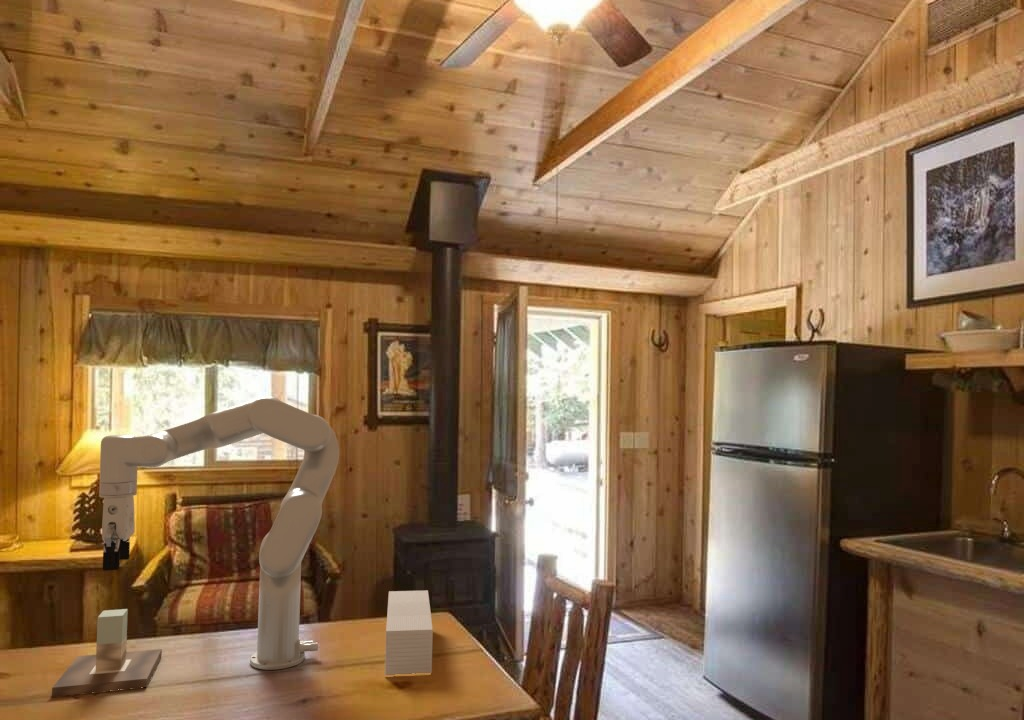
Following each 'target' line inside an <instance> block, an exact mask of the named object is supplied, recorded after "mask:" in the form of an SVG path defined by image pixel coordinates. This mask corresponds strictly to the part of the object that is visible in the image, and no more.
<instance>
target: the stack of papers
mask: <svg viewBox="0 0 1024 720" xmlns="http://www.w3.org/2000/svg"><path fill="white" fill-rule="evenodd" d="M386 613H387V615H386V627H385V657H384V658H385V659H384V660H385V661H384V662H385V666H384V676H385V675H395V674H412V673H415V674H416V673H433V638H434V637H433V636H434V633H433V631H434V630H433V623H432V621H433V620H432V612H431V605H430V595H429V590H427V589H426V590H397V591H396V590H395V591H394V590H392V591H391V590H389V591H388V597H387V612H386Z"/></svg>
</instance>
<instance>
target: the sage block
mask: <svg viewBox="0 0 1024 720" xmlns="http://www.w3.org/2000/svg"><path fill="white" fill-rule="evenodd" d="M128 612H129V609H128V608H121V609H120V608H119V609H108V610H106V609H105V610H102V612H101V613H100V614H99V615H98V617H97V626H96V628H97V629H96V646H97V645H99V644H111V643H122V641H123V640H124V638H125V637H126V635H127V634H128V632H127V631H128V616H129V615H128V614H129V613H128ZM127 636H128V635H127Z"/></svg>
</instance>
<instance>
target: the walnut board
mask: <svg viewBox="0 0 1024 720" xmlns="http://www.w3.org/2000/svg"><path fill="white" fill-rule="evenodd" d="M162 650H163V649H162V648H161V649H148V650H138V651H135V650H134V651H126V662H125V664H124V665H123V667H122V668H121V670H112V671H101V672H95V670H96V654H90V655H89V654H88V655H77V656H76V657H75V658H74V659H73V661H72V662H71V663H70V664H69V666H68V667H67V668H66V670H64V672H63V673H62V674H61V676H60V677H59V679H57V681H56V682H55V683H54V685H53V686H52V688H51V698H58V697H57V696H60V697H66V696H65V695H70V696H74V695H73V694H80V695H83V694H82V693H90V694H93V693H92V692H100V693H104V692H103V691H110V690H118V689H119V690H120V689H130V688H141V687H147V688H148V686H149V684H150V682H149V681H151V680H150V679H152V678H151V677H153V676H152V675H154V674H155V672H154V671H156V669H157V667H158V665H159V663H160V662H161V659H162V653H163V651H162ZM153 673H154V674H153ZM148 683H149V684H148ZM147 685H148V686H147ZM141 689H142V688H141ZM110 692H111V691H110Z"/></svg>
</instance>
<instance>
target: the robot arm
mask: <svg viewBox="0 0 1024 720" xmlns="http://www.w3.org/2000/svg"><path fill="white" fill-rule="evenodd" d="M334 431H335V430H333V428H332V427H331V425H330V424H329V422H328V421H327V420H326V419H325V418H324V417H322V416H320V415H318V414H312V413H309V412H307V411H305V410H302V409H300V408H298V407H296V406H293V405H291V404H289V403H286V402H284V401H282V400H281V399H279V398H278V397H276V396H271V395H266V396H265V395H264V396H261V397H258V398H255V399H251V400H248V401H245V402H241V403H239V404H236V405H232V406H230V407H226V408H223V409H220V410H217V411H214V412H210V413H208V414H206V415H204V416H203V417H200V418H198V419H195V420H193V421H189V422H186V423H184V424H180V425H178V426H175V427H171V428H168V429H165V430H161V431H158V432H155V433H151V434H148V435H142V436H135V435H133V434H132V435H131V434H112V435H111V434H110V435H107V436H104V437H103V438H102V439H101V441H100V456H99V457H100V460H99V463H100V464H99V493H98V494H99V495H98V496H99V498H101V499H102V498H103V506H102V519H101V520H102V522H101V523H102V524H101V538H102V541H103V542H104V543H103V549H102V550H103V552H102V570H103V571H104V572H105V571H117V570H119V569H120V563H121V561H123V560H124V561H126V560H129V559H130V550H131V549H130V543H131V541H130V538H131V537H132V536H133V535H134V533H135V530H136V527H135V498H134V496H136V495H138V492H137V491H138V467H144V468H158V467H161V466H163V465H164V464H166V463H169V462H170V461H173V460H174V461H175V460H177V459H180V458H181V457H185V456H189V455H191V454H194V453H197V452H201V451H205V450H208V449H218V448H222V447H226V446H229V445H232V444H234V443H235V444H236V443H238V442H240V441H243V440H244V441H245V440H247V439H250V438H253V437H255V436H259V435H261V434H262V435H263V434H264V435H266V436H269V437H270V438H273V439H276V440H278V441H281V442H283V443H286V444H287V445H291V446H293V447H295V448H298V449H300V450H302V451H303V458H302V461H301V464H300V465H299V468H298V470H297V472H296V475H295V477H294V479H293V481H292V484H291V486H290V488H289V489H288V491H287V493H286V495H284V497H283V499H282V501H281V504H280V507H279V508H280V509H279V511H278V512H277V513H278V514H277V515H276V517H275V518H274V519H275V520H274V521H273V524H272V526H271V528H270V530H269V531H268V533H267V534H265V536H264V537H263V539H262V540H261V543H260V547H259V553H258V562H259V589H258V592H259V593H258V610H257V611H258V612H257V614H258V616H257V618H258V619H257V643H256V645H257V647H256V648H257V649H256V651H255V652H254V653H253V654H252V655H251V656H250V658H249V665H251V667H253V668H255V669H259V670H265V671H266V670H267V671H273V670H282V669H283V670H284V669H288V668H292V667H294V666H297V665H299V664H300V663H302V662H303V661H304V660H305V658H306V653H305V652H318V650H319V643H318V642H314V641H313V640H306V641H303V639H302V640H301V635H300V633H299V632H300V613H301V612H300V609H301V583H302V582H301V581H302V580H301V577H302V561H303V560H304V557H305V554H306V552H307V550H308V549H309V547H310V544H311V542H312V540H313V537H314V535H315V534H316V532H317V529H318V528H319V525H320V521H321V519H322V514H323V507H322V505H323V503H324V502H323V501H324V499H325V497H326V494H327V493H328V491H329V488H330V486H331V483H332V481H333V478H334V476H335V474H336V471H337V468H338V465H339V459H340V447H339V441H338V437H337V436H336V433H335V432H334ZM120 560H121V561H120Z"/></svg>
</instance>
